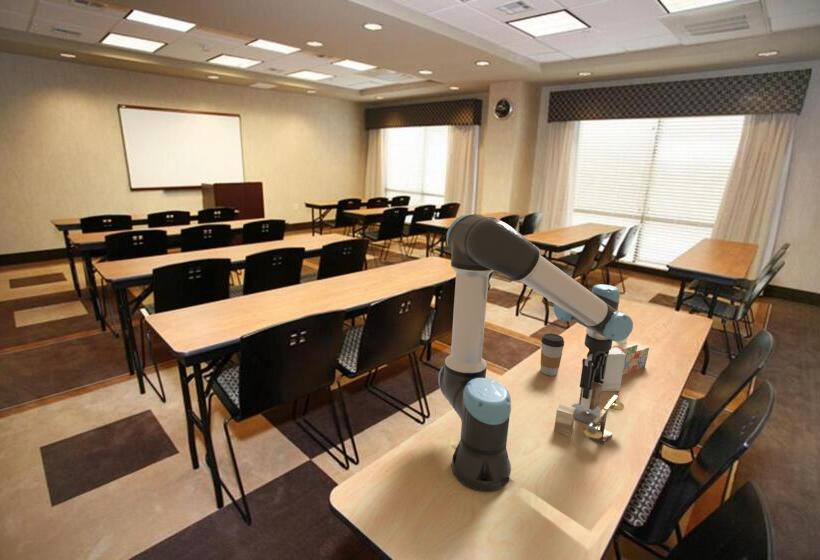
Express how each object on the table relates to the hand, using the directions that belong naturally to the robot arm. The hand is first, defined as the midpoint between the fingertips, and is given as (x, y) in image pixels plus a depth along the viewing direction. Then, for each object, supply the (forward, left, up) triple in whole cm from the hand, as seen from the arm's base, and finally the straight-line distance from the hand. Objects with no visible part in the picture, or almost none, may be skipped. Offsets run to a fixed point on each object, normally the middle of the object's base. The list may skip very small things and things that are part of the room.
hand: (588, 403), depth 129 cm
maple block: (-13, +1, -4) cm, 14 cm away
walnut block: (0, 0, 0) cm, 0 cm away
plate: (0, 0, -4) cm, 4 cm away
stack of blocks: (+42, +6, -4) cm, 43 cm away
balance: (-8, -8, -4) cm, 12 cm away
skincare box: (+23, +4, -4) cm, 24 cm away
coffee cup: (+17, +23, -4) cm, 29 cm away
